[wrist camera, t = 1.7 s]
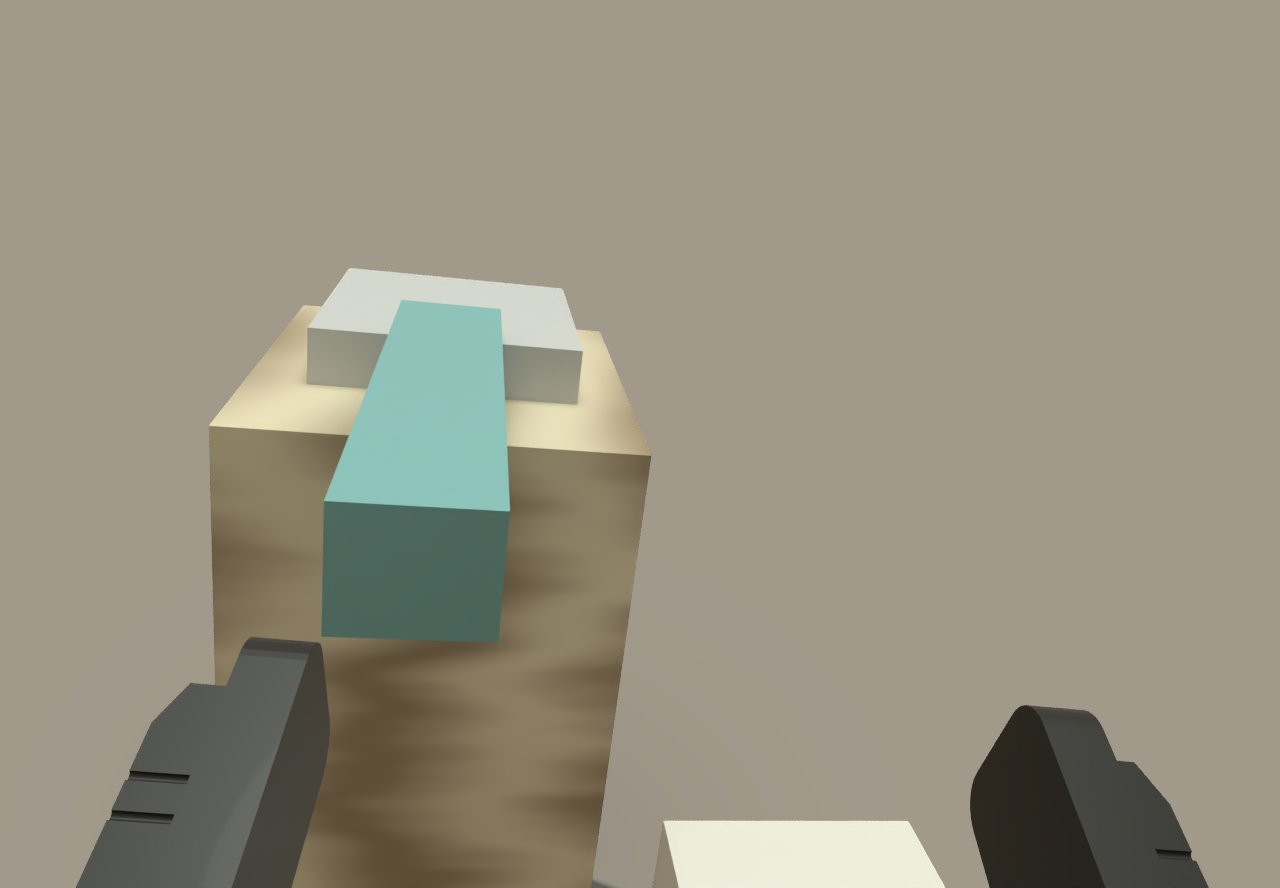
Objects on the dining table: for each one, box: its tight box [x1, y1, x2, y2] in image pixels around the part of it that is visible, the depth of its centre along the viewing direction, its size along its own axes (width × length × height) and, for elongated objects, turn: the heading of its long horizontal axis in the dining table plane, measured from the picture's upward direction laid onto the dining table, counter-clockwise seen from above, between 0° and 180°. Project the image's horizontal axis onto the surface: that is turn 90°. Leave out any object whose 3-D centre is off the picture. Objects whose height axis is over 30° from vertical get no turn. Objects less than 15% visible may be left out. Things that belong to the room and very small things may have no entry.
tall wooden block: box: [209, 305, 651, 888], centre depth 34 cm, size 10×12×32 cm
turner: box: [307, 268, 583, 643], centre depth 24 cm, size 7×20×2 cm, turn 8°
